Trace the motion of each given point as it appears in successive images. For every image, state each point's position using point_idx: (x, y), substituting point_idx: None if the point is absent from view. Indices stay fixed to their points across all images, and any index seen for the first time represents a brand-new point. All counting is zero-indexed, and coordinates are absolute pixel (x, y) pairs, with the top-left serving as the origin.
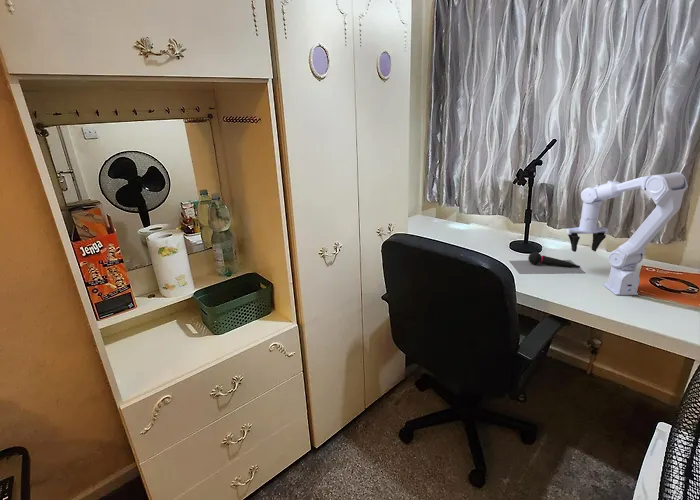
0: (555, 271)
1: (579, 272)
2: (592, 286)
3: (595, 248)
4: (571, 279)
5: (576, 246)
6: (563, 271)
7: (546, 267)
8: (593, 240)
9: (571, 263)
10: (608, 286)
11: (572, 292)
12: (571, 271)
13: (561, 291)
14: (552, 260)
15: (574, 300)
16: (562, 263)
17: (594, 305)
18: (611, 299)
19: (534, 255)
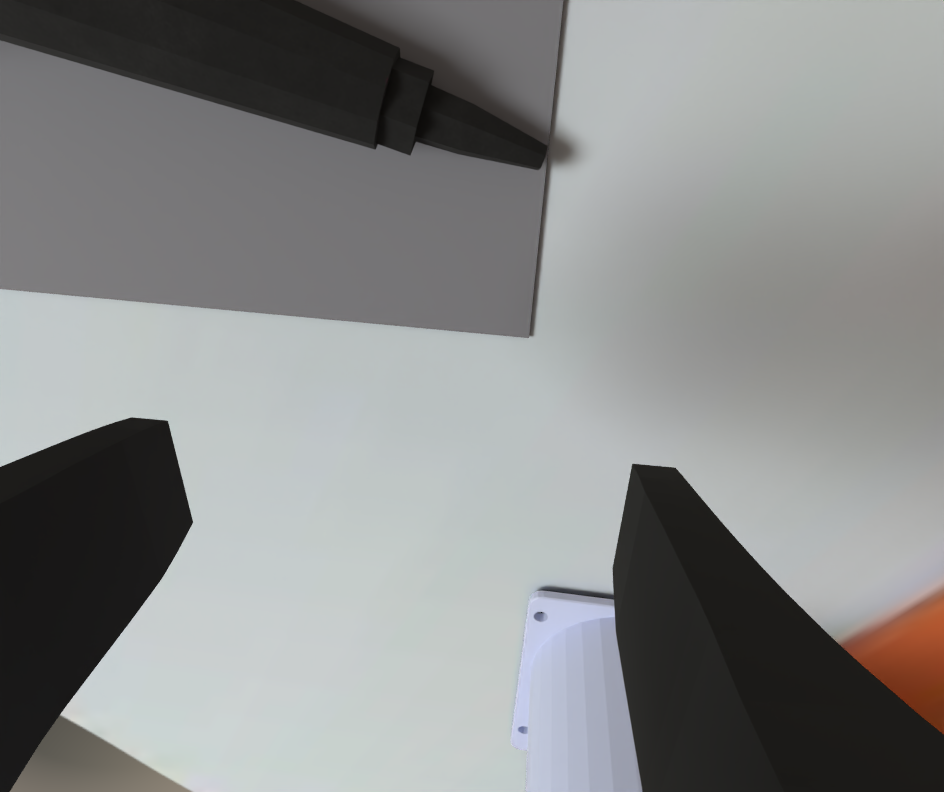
0: (163, 249)
1: (454, 313)
2: (420, 607)
3: (625, 655)
4: (289, 464)
5: (81, 666)
6: (263, 261)
7: (62, 87)
8: (714, 703)
9: (399, 129)
10: (530, 670)
11: (218, 656)
12: (365, 273)
13: (141, 633)
14: (60, 51)
15: (199, 732)
16: (252, 112)
17: (300, 788)
18: (446, 762)
19: None
